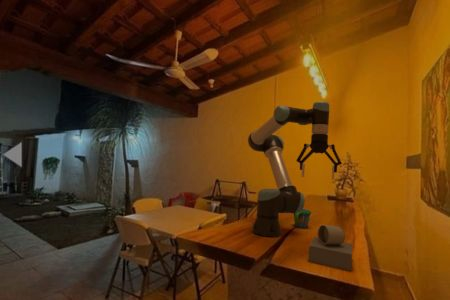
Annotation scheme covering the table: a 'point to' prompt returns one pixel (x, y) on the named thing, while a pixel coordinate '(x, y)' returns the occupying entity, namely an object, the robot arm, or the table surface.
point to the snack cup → (302, 218)
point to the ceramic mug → (330, 235)
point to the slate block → (331, 254)
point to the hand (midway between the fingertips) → (317, 178)
